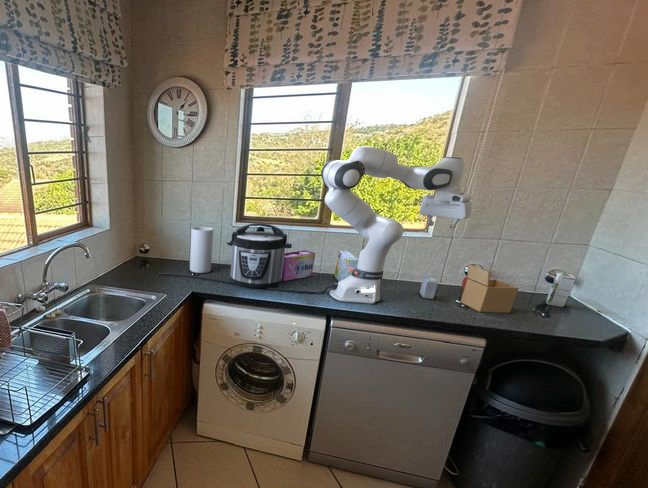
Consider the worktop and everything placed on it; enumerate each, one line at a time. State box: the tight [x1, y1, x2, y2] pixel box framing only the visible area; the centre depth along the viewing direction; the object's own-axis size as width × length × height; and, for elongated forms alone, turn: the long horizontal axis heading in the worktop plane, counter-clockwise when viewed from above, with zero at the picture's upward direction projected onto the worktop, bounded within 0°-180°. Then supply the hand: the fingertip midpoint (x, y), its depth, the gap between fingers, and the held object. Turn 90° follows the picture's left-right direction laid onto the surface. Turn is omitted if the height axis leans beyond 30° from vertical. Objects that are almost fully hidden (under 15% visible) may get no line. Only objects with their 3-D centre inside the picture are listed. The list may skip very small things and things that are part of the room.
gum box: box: [281, 250, 316, 282], centre depth 226 cm, size 24×8×14 cm, turn 118°
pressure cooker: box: [226, 222, 293, 289], centre depth 212 cm, size 30×28×32 cm
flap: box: [466, 264, 490, 286], centre depth 179 cm, size 6×13×1 cm
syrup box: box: [545, 272, 577, 308], centre depth 186 cm, size 6×6×14 cm
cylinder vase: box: [189, 226, 214, 274], centre depth 235 cm, size 12×12×25 cm
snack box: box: [333, 250, 359, 282], centre depth 217 cm, size 21×6×15 cm, turn 168°
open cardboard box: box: [460, 278, 520, 314], centre depth 183 cm, size 13×13×12 cm
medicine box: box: [419, 276, 438, 300], centre depth 197 cm, size 8×4×9 cm, turn 160°
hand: (441, 227), depth 182 cm, fingers open, 8 cm apart
